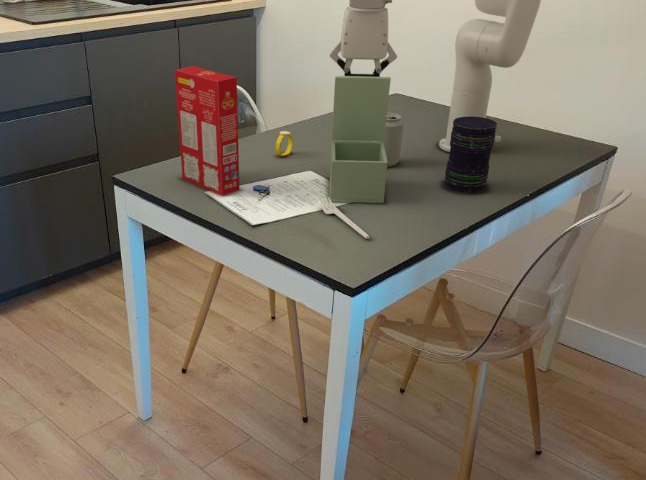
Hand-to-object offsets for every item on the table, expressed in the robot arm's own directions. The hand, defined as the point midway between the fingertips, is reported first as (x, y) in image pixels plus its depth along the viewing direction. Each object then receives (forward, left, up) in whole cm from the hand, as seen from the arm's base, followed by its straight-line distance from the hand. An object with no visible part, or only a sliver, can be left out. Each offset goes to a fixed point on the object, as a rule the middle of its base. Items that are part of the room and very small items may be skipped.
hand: (360, 89), depth 159 cm
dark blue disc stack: (-26, +3, -21) cm, 33 cm away
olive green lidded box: (0, +8, -21) cm, 22 cm away
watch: (+18, -16, -21) cm, 32 cm away
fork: (+3, +26, -21) cm, 34 cm away
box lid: (0, +3, -4) cm, 5 cm away
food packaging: (+34, +7, -21) cm, 41 cm away
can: (-8, -12, -21) cm, 25 cm away
